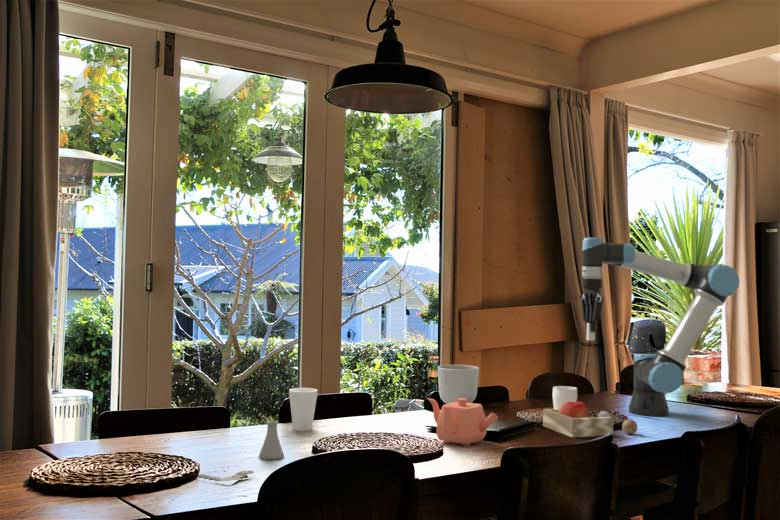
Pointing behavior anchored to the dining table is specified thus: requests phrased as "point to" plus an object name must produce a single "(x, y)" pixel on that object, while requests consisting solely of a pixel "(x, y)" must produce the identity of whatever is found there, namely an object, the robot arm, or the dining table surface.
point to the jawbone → (235, 477)
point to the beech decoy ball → (629, 426)
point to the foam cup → (302, 407)
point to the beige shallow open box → (577, 424)
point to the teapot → (461, 422)
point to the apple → (574, 409)
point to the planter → (457, 382)
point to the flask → (271, 443)
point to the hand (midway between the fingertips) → (590, 340)
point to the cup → (563, 395)
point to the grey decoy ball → (603, 414)
